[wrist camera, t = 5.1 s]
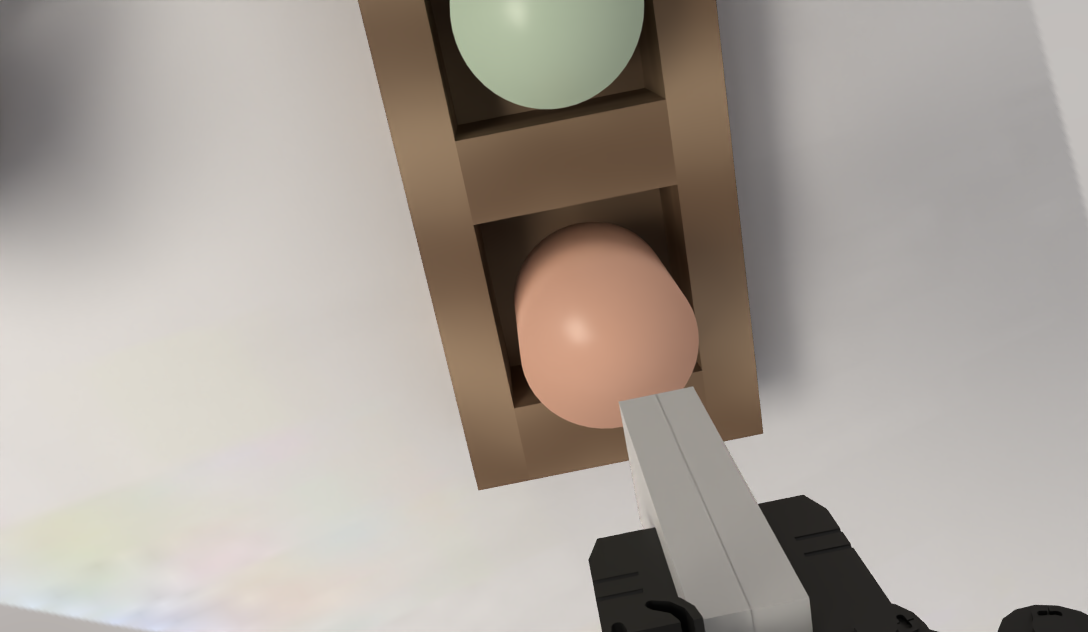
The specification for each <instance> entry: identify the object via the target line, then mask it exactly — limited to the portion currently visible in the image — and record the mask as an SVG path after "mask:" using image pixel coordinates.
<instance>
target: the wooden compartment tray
mask: <svg viewBox="0 0 1088 632" xmlns="http://www.w3.org/2000/svg"><path fill="white" fill-rule="evenodd" d="M358 3H359V7H360V11H361V15H362V19H363V23H364V27H365V31H366V35H367V39H368V43H369V47H370V51H371V55H372V59H373V64H374V68H375V72H376V76H377V80H378V84H379V88H380V92H381V96H382V100H383V104H384V108H385V112H386V116H387V120H388V124H389V129H390V133H391V137H392V141H393V145H394V149H395V153H396V157H397V161H398V165H399V169H400V173H401V177H402V181H403V185H404V190H405V194H406V198H407V202H408V206H409V210H410V214H411V218H412V222H413V226H414V230H415V234H416V238H417V242H418V246H419V250H420V255H421V259H422V263H423V267H424V271H425V275H426V279H427V283H428V287H429V291H430V295H431V299H432V303H433V307H434V311H435V316H436V320H437V324H438V328H439V332H440V336H441V340H442V344H443V348H444V352H445V356H446V360H447V364H448V368H449V372H450V376H451V381H452V385H453V389H454V393H455V397H456V401H457V405H458V409H459V413H460V417H461V421H462V425H463V429H464V433H465V437H466V441H467V446H468V450H469V454H470V458H471V462H472V466H473V470H474V474H475V478H476V482H477V486H478V490H483V489H488V488H493V487H498V486H503V485H508V484H513V483H518V482H523V481H528V480H533V479H538V478H543V477H548V476H553V475H558V474H563V473H568V472H573V471H578V470H583V469H588V468H593V467H598V466H603V465H608V464H613V463H618V462H623V461H628V460H629V456H628V451H627V445H626V440H625V434H624V429H623V427H618V428H604V429H600V428H590V427H586V426H581V425H577V424H575V423H572V422H569V421H567V420H565V419H563V418H561V417H559V416H558V415H556V414H555V413H553V412H552V411H550V410H549V409H548V408H547V407H546V406H545V405H543V404H542V403H541V401H540V400H539V399H538V398H537V397H536V396H535V394H534V393H533V391H532V389H531V388H530V386H529V384H528V382H527V380H526V378H525V375H524V371H523V368H522V363H521V356H520V348H519V339H518V331H517V322H516V314H515V305H514V290H515V283H516V280H517V276H518V273H519V271H520V268H521V266H522V264H523V262H524V261H525V259H526V257H527V256H528V255H529V253H530V252H531V251H532V250H533V248H534V247H535V246H536V245H537V244H539V243H540V242H541V241H542V240H543V239H545V238H546V237H547V236H549V235H550V234H552V233H554V232H555V231H557V230H559V229H562V228H564V227H567V226H570V225H573V224H577V223H584V222H604V223H610V224H614V225H618V226H621V227H623V228H625V229H628V230H630V231H631V232H633V233H635V234H636V235H638V236H639V237H640V238H642V239H643V240H644V241H645V242H646V243H647V244H648V245H649V246H650V247H651V248H652V250H653V251H654V252H655V254H656V255H657V256H658V258H659V259H660V261H661V262H662V264H663V265H664V267H665V268H666V270H667V271H668V272H669V274H670V275H671V277H672V278H673V280H674V281H675V283H676V284H677V286H678V287H679V289H680V290H681V291H682V293H683V294H684V296H685V297H686V299H687V300H688V302H689V304H690V306H691V308H692V310H693V312H694V315H695V318H696V322H697V326H698V333H699V348H698V355H697V360H696V364H695V366H694V369H693V372H692V374H691V376H690V378H689V380H688V382H687V384H686V385H685V387H684V388H688V387H694V389H695V391H696V393H697V394H698V396H699V398H700V400H701V402H702V404H703V405H704V407H705V409H706V411H707V413H708V415H709V416H710V418H711V420H712V422H713V424H714V425H715V427H716V429H717V431H718V433H719V435H720V436H721V438H722V440H723V441H728V440H733V439H738V438H743V437H748V436H753V435H758V434H763V427H762V418H761V409H760V400H759V391H758V381H757V372H756V363H755V354H754V345H753V336H752V326H751V317H750V308H749V299H748V290H747V280H746V271H745V262H744V253H743V244H742V235H741V225H740V216H739V207H738V198H737V189H736V180H735V170H734V161H733V152H732V143H731V134H730V124H729V115H728V106H727V97H726V88H725V79H724V69H723V60H722V51H721V42H720V33H719V24H718V14H717V5H716V0H644V18H643V24H642V30H641V33H640V37H639V40H638V43H637V46H636V48H635V50H634V53H633V55H632V57H631V58H630V60H629V62H628V63H627V65H626V67H625V68H624V69H623V71H622V72H621V73H620V74H619V76H618V77H617V78H616V79H615V80H614V81H613V82H612V83H611V84H610V85H609V86H608V87H606V88H605V89H604V90H602V91H601V92H600V93H598V94H597V95H595V96H593V97H592V98H590V99H588V100H586V101H583V102H581V103H579V104H576V105H572V106H569V107H565V108H557V109H536V108H529V107H525V106H521V105H518V104H515V103H512V102H510V101H508V100H505V99H504V98H502V97H500V96H499V95H497V94H495V93H494V92H492V91H491V90H490V89H489V88H487V87H486V86H485V85H484V84H483V83H482V82H481V81H480V80H479V79H478V78H477V77H476V76H475V75H474V74H473V72H472V71H471V70H470V68H469V67H468V66H467V64H466V62H465V61H464V59H463V57H462V55H461V53H460V51H459V49H458V46H457V44H456V41H455V38H454V34H453V30H452V25H451V18H450V0H358Z"/></svg>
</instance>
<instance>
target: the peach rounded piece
mask: <svg viewBox="0 0 1088 632" xmlns="http://www.w3.org/2000/svg"><path fill="white" fill-rule="evenodd" d="M514 305H515V314H516V322H517V331H518V339H519V348H520V356H521V363H522V368H523V371H524V375H525V378H526V380H527V382H528V384H529V386H530V388H531V389H532V391H533V393H534V394H535V396H536V397H537V398H538V399H539V400H540V401H541V403H542V404H543V405H545V406H546V407H547V408H548V409H549V410H550V411H552V412H553V413H555V414H556V415H558V416H559V417H561V418H563V419H565V420H567V421H569V422H572V423H575V424H577V425H581V426H586V427H590V428H600V429H604V428H618V427H623V423H622V418H621V412H620V407H619V401H624V400H629V399H634V398H639V397H644V396H649V395H653V394H658V393H663V392H668V391H673V390H678V389H683V388H684V387H685V385H686V384H687V382H688V380H689V378H690V376H691V374H692V372H693V369H694V366H695V364H696V360H697V355H698V348H699V333H698V326H697V322H696V318H695V315H694V312H693V310H692V308H691V306H690V304H689V302H688V300H687V299H686V297H685V296H684V294H683V293H682V291H681V290H680V289H679V287H678V286H677V284H676V283H675V281H674V280H673V278H672V277H671V275H670V274H669V272H668V271H667V270H666V268H665V267H664V265H663V264H662V262H661V261H660V259H659V258H658V256H657V255H656V254H655V252H654V251H653V250H652V248H651V247H650V246H649V245H648V244H647V243H646V242H645V241H644V240H643V239H642V238H640V237H639V236H638V235H636V234H635V233H633V232H631V231H630V230H628V229H625V228H623V227H621V226H618V225H614V224H610V223H604V222H584V223H577V224H573V225H570V226H567V227H564V228H562V229H559V230H557V231H555V232H554V233H552V234H550V235H549V236H547V237H546V238H545V239H543V240H542V241H541V242H540V243H539V244H537V245H536V246H535V247H534V248H533V250H532V251H531V252H530V253H529V255H528V256H527V257H526V259H525V261H524V262H523V264H522V266H521V268H520V271H519V273H518V276H517V280H516V283H515V290H514Z"/></svg>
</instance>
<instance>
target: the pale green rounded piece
mask: <svg viewBox="0 0 1088 632" xmlns="http://www.w3.org/2000/svg"><path fill="white" fill-rule="evenodd" d="M450 18H451V25H452V30H453V34H454V38H455V41H456V44H457V46H458V49H459V51H460V53H461V55H462V57H463V59H464V61H465V62H466V64H467V66H468V67H469V68H470V70H471V71H472V72H473V74H474V75H475V76H476V77H477V78H478V79H479V80H480V81H481V82H482V83H483V84H484V85H485V86H486V87H487V88H489V89H490V90H491V91H492V92H494V93H495V94H497V95H499V96H500V97H502V98H504V99H505V100H508V101H510V102H512V103H515V104H518V105H521V106H525V107H529V108H536V109H557V108H565V107H569V106H572V105H576V104H579V103H581V102H583V101H586V100H588V99H590V98H592V97H593V96H595V95H597V94H598V93H600V92H601V91H602V90H604V89H605V88H606V87H608V86H609V85H610V84H611V83H612V82H613V81H614V80H615V79H616V78H617V77H618V76H619V74H620V73H621V72H622V71H623V69H624V68H625V67H626V65H627V63H628V62H629V60H630V58H631V57H632V55H633V53H634V50H635V48H636V46H637V43H638V40H639V37H640V33H641V30H642V24H643V18H644V0H450Z"/></svg>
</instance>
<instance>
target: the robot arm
mask: <svg viewBox="0 0 1088 632" xmlns="http://www.w3.org/2000/svg"><path fill="white" fill-rule="evenodd" d="M619 407H620V412H621V418H622V423H623V429H624V434H625V440H626V445H627V451H628V456H629V462H630V467H631V473H632V478H633V484H634V489H635V495H636V500H637V506H638V511H639V517H640V521H641V524H642V527H643V530H638V531H634V532H629V533H624V534H619V535H614V536H609V537H604V538H599V539H597V541H596V543H595V546H594V548H593V550H592V553H591V555H590V558H589V564H590V570H591V575H592V580H593V586H594V591H595V596H596V601H597V607H598V612H599V618H600V623H601V628H602V632H937V631H934V630H930V629H929V628H928V627H927V625H926V624H925V623H924V622H923V621H922V620H921V619H920V618H918V617H917V616H916V615H915V614H914V613H913V612H911V611H909V610H907V609H904V608H902V607H900V606H898V605H896V604H891V602H890V601H889V599H888V598H887V596H886V595H885V594H884V592H883V591H882V589H881V588H880V586H879V585H878V583H877V582H876V580H875V579H874V577H873V576H872V574H871V573H870V572H869V570H868V569H867V567H866V566H865V564H864V563H863V561H862V560H861V558H860V557H859V555H858V554H857V552H856V551H855V550H854V548H852V547H851V544H850V542H849V541H848V539H847V538H846V536H845V535H844V533H843V532H841V531H840V528H839V526H838V525H837V523H836V522H835V520H834V519H833V517H832V516H831V514H830V513H829V511H828V510H827V509H826V508H824V507H823V506H821V505H819V504H818V503H816V502H814V501H813V500H811V499H809V498H808V497H806V496H805V495H800V496H795V497H790V498H785V499H780V500H775V501H770V502H765V503H760V504H757V502H756V500H755V498H754V496H753V495H752V493H751V491H750V489H749V487H748V485H747V484H746V482H745V480H744V478H743V476H742V475H741V473H740V471H739V469H738V467H737V465H736V464H735V462H734V460H733V458H732V456H731V455H730V453H729V451H728V449H727V447H726V445H725V444H724V442H723V440H722V438H721V436H720V435H719V433H718V431H717V429H716V427H715V425H714V424H713V422H712V420H711V418H710V416H709V415H708V413H707V411H706V409H705V407H704V405H703V404H702V402H701V400H700V398H699V396H698V394H697V393H696V391H695V389H694V387H688V388H683V389H678V390H673V391H668V392H663V393H658V394H653V395H649V396H644V397H639V398H634V399H629V400H624V401H619ZM998 632H1088V615H1087V614H1085V613H1083V612H1081V611H1077V610H1073V609H1069V608H1065V607H1061V606H1052V605H1033V606H1029V607H1024V608H1020V609H1016V610H1015V611H1013V612H1012V613H1010V614H1009V615H1007V616H1006V617H1004V618H1003V620H1002V622H1001V624H1000V627H999V629H998Z"/></svg>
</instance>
